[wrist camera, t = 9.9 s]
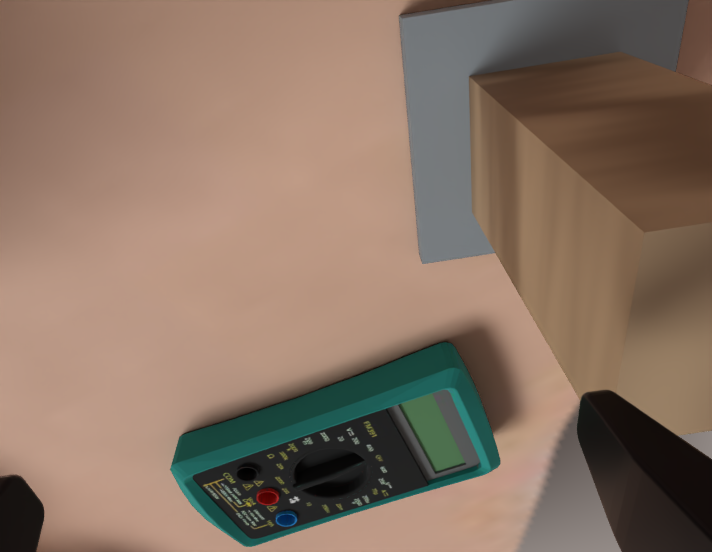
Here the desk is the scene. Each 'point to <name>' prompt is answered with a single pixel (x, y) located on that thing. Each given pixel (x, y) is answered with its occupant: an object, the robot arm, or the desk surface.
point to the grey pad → (492, 54)
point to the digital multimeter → (339, 449)
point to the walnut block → (605, 222)
